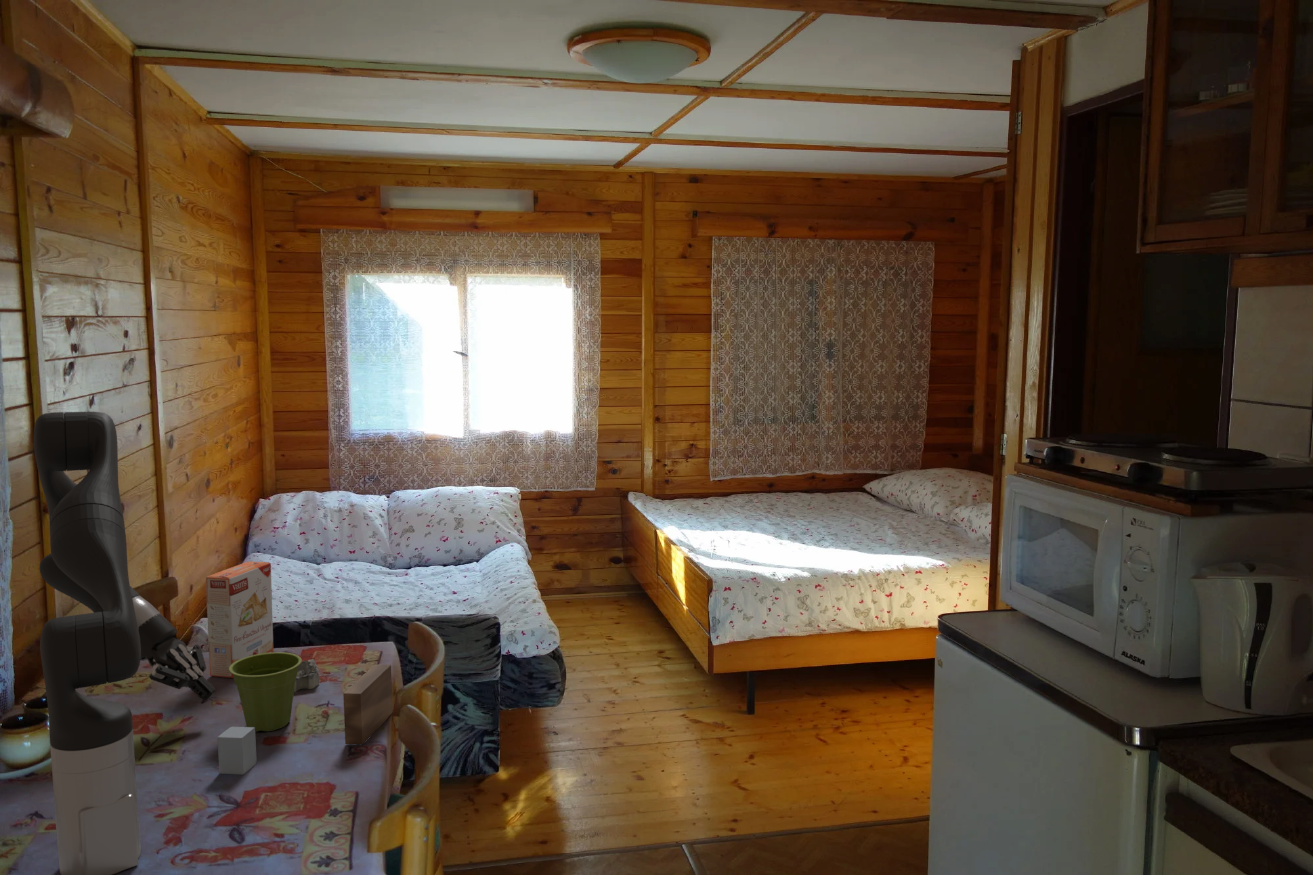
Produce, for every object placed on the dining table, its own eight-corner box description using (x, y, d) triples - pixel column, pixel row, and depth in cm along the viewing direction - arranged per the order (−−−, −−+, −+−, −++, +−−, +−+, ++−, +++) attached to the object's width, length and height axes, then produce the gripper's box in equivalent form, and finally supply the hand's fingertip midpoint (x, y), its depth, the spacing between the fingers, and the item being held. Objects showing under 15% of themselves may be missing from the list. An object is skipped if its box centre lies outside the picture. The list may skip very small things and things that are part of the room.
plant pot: (216, 733, 164) (213, 670, 163) (264, 708, 175) (262, 649, 174) (272, 742, 160) (269, 678, 159) (318, 716, 172) (315, 655, 170)
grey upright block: (243, 774, 149) (241, 737, 148) (219, 773, 149) (217, 737, 149) (256, 762, 153) (254, 727, 152) (232, 762, 153) (231, 726, 153)
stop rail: (345, 744, 159) (343, 693, 158) (376, 711, 173) (375, 664, 172) (362, 745, 159) (360, 693, 158) (392, 712, 173) (391, 664, 172)
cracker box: (235, 679, 190) (229, 577, 188) (208, 677, 191) (203, 576, 189) (276, 656, 204) (272, 561, 201) (251, 654, 205) (246, 559, 203)
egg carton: (274, 678, 191) (273, 659, 191) (313, 672, 195) (312, 652, 194) (281, 695, 182) (280, 675, 182) (322, 688, 185) (321, 668, 185)
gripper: (130, 624, 161) (203, 696, 161) (176, 603, 174) (243, 669, 174) (103, 654, 162) (175, 725, 162) (150, 630, 175) (217, 696, 175)
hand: (211, 696), depth 168 cm, fingers closed
